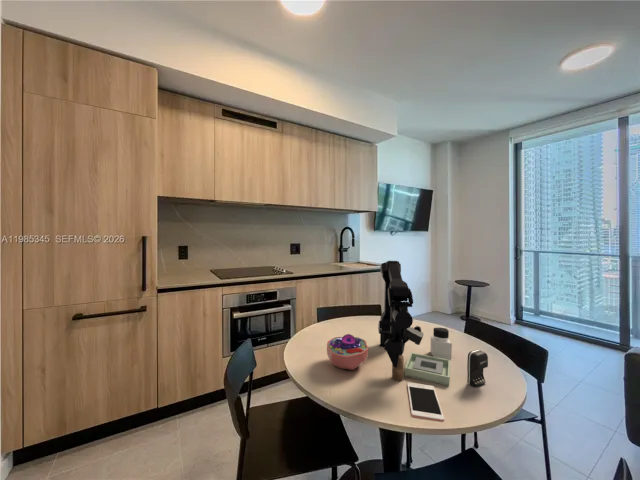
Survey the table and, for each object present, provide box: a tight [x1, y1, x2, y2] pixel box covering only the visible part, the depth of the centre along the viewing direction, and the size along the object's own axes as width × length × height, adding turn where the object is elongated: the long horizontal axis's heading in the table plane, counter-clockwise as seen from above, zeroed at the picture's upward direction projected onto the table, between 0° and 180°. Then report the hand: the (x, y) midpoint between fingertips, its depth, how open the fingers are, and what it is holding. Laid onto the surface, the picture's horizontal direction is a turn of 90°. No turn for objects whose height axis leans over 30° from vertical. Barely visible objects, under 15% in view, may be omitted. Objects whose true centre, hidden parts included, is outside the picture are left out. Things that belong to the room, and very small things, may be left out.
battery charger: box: [466, 349, 489, 387], centre depth 97 cm, size 7×4×11 cm, turn 117°
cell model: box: [326, 333, 370, 370], centre depth 111 cm, size 17×20×11 cm
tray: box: [404, 352, 451, 387], centre depth 106 cm, size 15×15×3 cm
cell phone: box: [406, 382, 445, 422], centre depth 88 cm, size 9×18×1 cm, turn 167°
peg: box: [391, 354, 405, 382], centre depth 101 cm, size 4×4×8 cm
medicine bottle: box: [429, 326, 453, 361], centre depth 120 cm, size 7×7×12 cm
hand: (397, 361), depth 101 cm, fingers open, 9 cm apart
